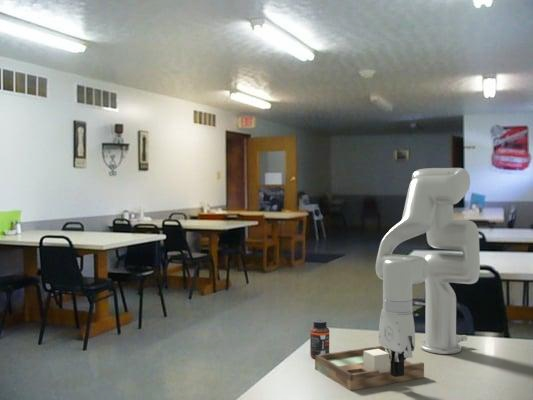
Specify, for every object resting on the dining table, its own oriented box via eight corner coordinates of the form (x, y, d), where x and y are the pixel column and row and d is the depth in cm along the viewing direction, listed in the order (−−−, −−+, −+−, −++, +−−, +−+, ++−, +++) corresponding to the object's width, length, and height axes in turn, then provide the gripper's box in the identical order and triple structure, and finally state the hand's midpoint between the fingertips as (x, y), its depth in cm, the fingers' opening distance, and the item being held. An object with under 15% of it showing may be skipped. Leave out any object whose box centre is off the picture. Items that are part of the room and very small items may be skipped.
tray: (383, 358, 173) (383, 345, 173) (423, 377, 156) (424, 363, 155) (315, 368, 163) (315, 355, 163) (350, 390, 146) (350, 375, 146)
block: (378, 366, 158) (378, 348, 157) (389, 371, 153) (389, 353, 153) (363, 368, 155) (363, 350, 155) (374, 374, 151) (374, 355, 151)
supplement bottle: (328, 360, 171) (328, 323, 171) (309, 359, 172) (309, 322, 172) (330, 354, 177) (330, 319, 177) (311, 353, 178) (311, 318, 178)
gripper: (369, 301, 152) (368, 368, 152) (403, 313, 138) (403, 386, 139) (391, 299, 155) (391, 365, 155) (428, 310, 141) (427, 382, 142)
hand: (397, 375), depth 147 cm, fingers closed
